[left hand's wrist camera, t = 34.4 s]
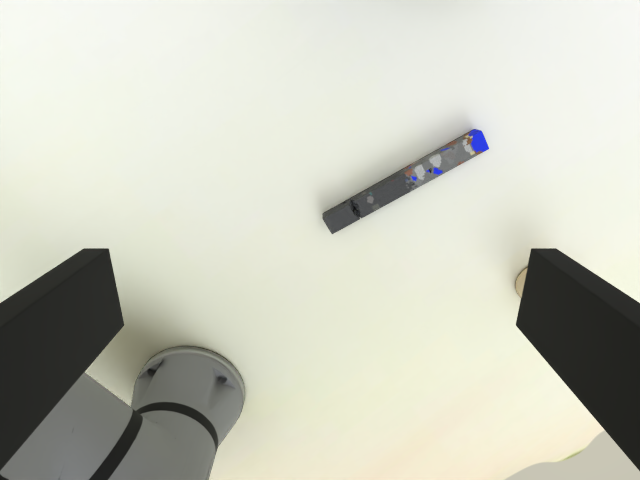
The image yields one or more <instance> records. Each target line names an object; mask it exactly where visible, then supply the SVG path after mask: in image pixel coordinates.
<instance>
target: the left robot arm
mask: <svg viewBox="0 0 640 480" xmlns="http://www.w3.org/2000/svg"><path fill="white" fill-rule="evenodd" d="M123 326H124V322H123V317H122V312H121V307H120V302H119V297H118V292H117V288H116V283H115V278H114V273H113V268H112V263H111V258H110V253H109V249H83V250H81V251H79V252H78V253H76V254H75V255H73V256H72V257H70V258H69V259H67V260H66V261H64V262H63V263H61V264H60V265H58V266H57V267H55V268H53V269H52V270H50V271H49V272H47V273H46V274H44V275H43V276H41V277H40V278H38V279H37V280H35V281H34V282H32V283H30V284H29V285H27V286H26V287H24V288H23V289H21V290H20V291H18V292H17V293H15V294H14V295H12V296H11V297H9V298H7V299H6V300H4V301H3V302H1V303H0V480H209V476H210V473H211V469H212V466H213V462H214V459H215V455H216V451H217V448H218V446H219V445H220V443H221V442H222V441H223V439H224V438H225V437H226V435H227V434H228V433H229V431H230V430H231V428H232V427H233V426H234V424H235V423H236V421H237V420H238V418H239V416H240V414H241V411H242V408H243V404H244V399H245V387H244V383H243V380H242V378H241V376H240V374H239V373H238V371H237V370H236V369H235V367H234V366H233V365H232V364H231V363H230V362H229V361H227V360H226V359H225V358H223V357H222V356H220V355H218V354H216V353H214V352H212V351H209V350H206V349H203V348H199V347H190V346H181V347H174V348H170V349H167V350H164V351H162V352H160V353H158V354H156V355H155V356H153V357H152V358H151V359H150V360H149V361H148V362H147V363H146V364H145V366H144V367H143V369H142V370H141V372H140V374H139V375H138V377H137V380H136V383H135V386H134V391H133V397H132V403H131V407H130V406H129V405H127V404H126V403H125V402H123V401H122V400H121V399H119V398H118V397H117V396H115V395H114V394H113V393H111V392H110V391H109V390H107V389H106V388H105V387H103V386H102V385H101V384H99V383H98V382H97V381H95V380H94V379H93V378H91V377H90V376H89V375H87V374H86V373H85V371H86V369H87V368H88V367H89V366H90V365H91V364H92V362H93V361H94V360H95V359H96V358H97V356H98V355H99V354H100V353H101V352H102V351H103V349H104V348H105V347H106V346H107V345H108V343H109V342H110V341H111V340H112V339H113V338H114V336H115V335H116V334H117V333H118V332H119V331H120V329H121V328H122V327H123ZM516 326H517V327H518V328H519V329H520V331H521V332H522V333H523V334H524V335H525V336H526V338H527V339H528V340H529V341H530V342H531V343H532V345H533V346H534V347H535V348H536V349H537V351H538V352H539V353H540V354H541V355H542V356H543V358H544V359H545V360H546V361H547V362H548V364H549V365H550V366H551V367H552V368H553V369H554V371H555V372H556V373H557V374H558V375H559V376H560V378H561V379H562V380H563V381H564V382H565V384H566V385H567V386H568V387H569V388H570V389H571V391H572V392H573V393H574V394H575V395H576V396H577V398H578V399H579V400H580V401H581V402H582V404H583V405H584V406H585V407H586V408H587V409H588V411H589V412H590V413H591V414H592V415H593V416H594V418H595V419H596V420H597V421H598V422H599V424H600V425H601V426H602V427H603V428H604V429H605V431H606V432H607V433H608V434H609V435H610V436H611V438H612V439H613V440H614V441H615V442H616V444H617V445H618V446H619V447H620V448H621V449H622V451H623V452H624V453H625V454H626V455H627V457H628V458H629V459H630V460H631V461H632V462H633V464H634V465H635V466H636V467H637V468H638V469H639V471H640V303H639V302H637V301H636V300H634V299H633V298H631V297H629V296H628V295H626V294H625V293H623V292H622V291H620V290H619V289H617V288H616V287H614V286H613V285H611V284H610V283H608V282H606V281H605V280H603V279H602V278H600V277H599V276H597V275H596V274H594V273H593V272H591V271H590V270H588V269H587V268H585V267H583V266H582V265H580V264H579V263H577V262H576V261H574V260H573V259H571V258H570V257H568V256H567V255H565V254H564V253H562V252H561V251H559V250H557V249H531V253H530V258H529V263H528V268H527V273H526V278H525V283H524V288H523V292H522V297H521V302H520V307H519V312H518V317H517V322H516Z"/></svg>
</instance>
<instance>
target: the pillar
mask: <svg viewBox="0 0 640 480" xmlns="http://www.w3.org/2000/svg"><path fill="white" fill-rule="evenodd" d="M488 149H489V147H488V145H487V142H486V140H485V138H484V135H483V133H482V131H480V130H476V129H474V130H472V131H470V132H468V133H466V134H465V135H463V136H461V137H459V138H457V139H456V140H454V141H452V142H450V143H448V144H447V145H445V146H443V147H441V148H439V149H438V150H436V151H434V152H432V153H431V154H429V155H427V156H425V157H423V158H422V159H420V160H418V161H416V162H414V163H413V164H411V165H409V166H407V167H405V168H404V169H402V170H400V171H398V172H396V173H395V174H393V175H391V176H389V177H387V178H386V179H384V180H382V181H380V182H379V183H377V184H375V185H373V186H371V187H370V188H368V189H366V190H364V191H362V192H361V193H359V194H357V195H355V196H353V197H352V198H350V199H348V200H346V201H344V202H343V203H341V204H339V205H337V206H335V207H334V208H332V209H330V210H328V211H327V212H325V213H323V220H324V222H325V223H326V225H327V227H328V228H329V230H330V232H331V233H332V234H333V233H335V232H337V231H339V230H341V229H343V228H344V227H346V226H348V225H350V224H352V223H354V222H355V221H357V220H359V219H360V218H359V217H361V218H363V217H365V216H366V215H368V214H370V213H372V212H374V211H376V210H377V209H379V208H381V207H383V206H385V205H387V204H388V203H390V202H392V201H394V200H396V199H398V198H400V197H401V196H403V195H405V194H407V193H409V192H411V191H412V190H414V189H416V188H418V187H420V186H422V185H423V184H425V183H427V182H429V181H431V180H433V179H434V178H436V177H438V176H440V175H442V174H444V173H445V172H447V171H449V170H451V169H453V168H455V167H456V166H458V165H460V164H462V163H464V162H466V161H467V160H469V159H471V158H473V157H475V156H477V155H479V154H480V153H482V152H484V151H486V150H488ZM357 209H358V210H357Z"/></svg>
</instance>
